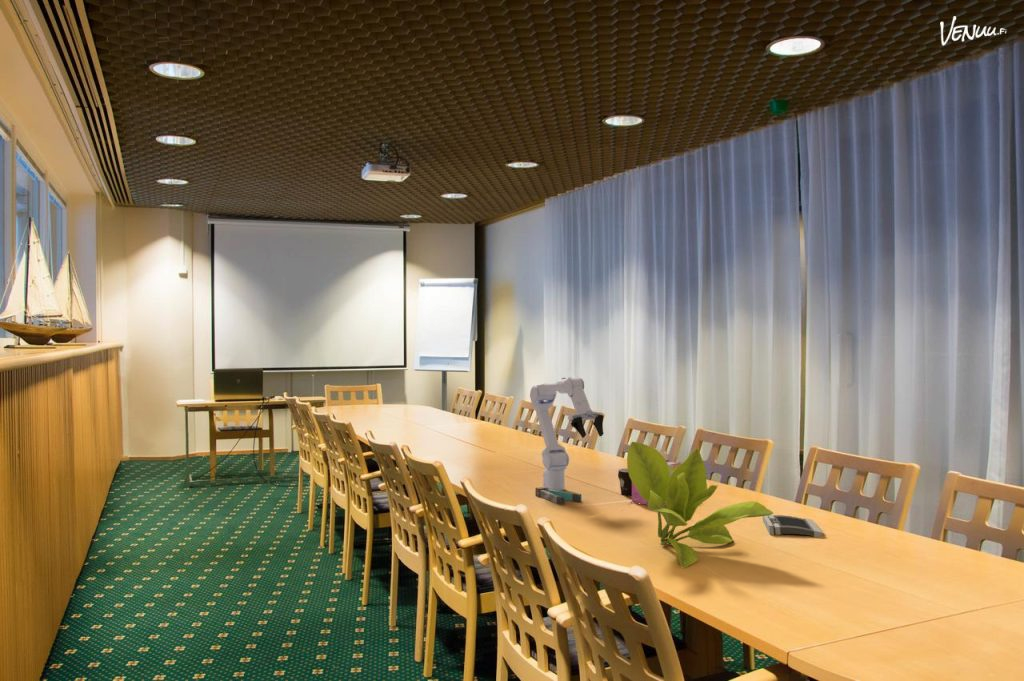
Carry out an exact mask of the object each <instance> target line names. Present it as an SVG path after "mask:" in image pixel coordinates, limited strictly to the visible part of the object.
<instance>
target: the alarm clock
mask: <svg viewBox="0 0 1024 681" xmlns="http://www.w3.org/2000/svg"><path fill="white" fill-rule="evenodd" d="M763 522H764V523H763ZM762 523H763V524H765V525H764V527H765V526H766V527H765V528H766V530H767V533H768V534H769V536H775V535H786V534H787V535H789V534H792V535H793V534H794V535H806V536H810V537H813V536H814V538H823V534H824V532H823V530H822V529H821V528H820V526H819V525H818V524H817V523H816V522H815V520H813V519H810V518H806V517H804V518H801V517H797V516H792V515H791V516H790V515H782V514H781V515H780V514H778V515H777V514H776V515H775V514H771V515H767V516H762Z"/></svg>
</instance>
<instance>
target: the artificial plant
mask: <svg viewBox="0 0 1024 681" xmlns="http://www.w3.org/2000/svg"><path fill="white" fill-rule="evenodd" d="M687 456H688V457H687V458H686V459H685V460H684V461H683V462H681V464H680V465H679V466H678V467H677V468H676V469H675V470H674V471H673V472H672V474H671V476H670V471H669V467H668V463H667V462H666V459H665V457H664V456H663V455H662V454H661V453H660V451H658V450H657V449H656V448H653V447H652V446H650V445H647V444H644V443H642V442H641V443H640V442H636V441H631V443H630V444H629V446H628V451H627V456H626V467H627V468H628V472H629V477H630V478H631V480H632V482H633V484H634V485H635V487H636V489H637V490H638V492H639V493H640V495H641V496H642V497H643V498H644V499H645V500H646V501H647V502H648V503H649V505H648V510H649V511H653V512H657V519H658V520H657V521H658V525H657V537H658V538H660V545H661V546H665V545H667V544H671V545H672V547H673V549H674V550H675V552H676V554H677V558H678V562H679V564H680V567H681V568H682V567H684V568H686V567H688V566H691V565H692V564H694V563H696V562H697V561H698V554H697V553H696V551H695V549H694V548H693V547H691V546H690V545H688V544H686V543H682V542H679V541H681V540H684V539H686V538H690V539H693V540H695V541H698V542H701V543H703V544H710V545H723V544H729V543H731V542H734V539H733V537H732V534H730V531H729V529H728V528H727V525H729V524H732V523H734V522H736V521H738V520H740V519H745V518H746V519H747V518H759V517H763V516H768V515H774V511H772V510H770V509H769V508H767V507H766V506H765V505H764V504H762V503H760V502H758V501H751V500H750V501H742V502H739V503H735V504H730V505H727V506H723V507H721V508H719V509H717V510H715V511H714V512H712V513H711V514H709V515H707V516H706V517H704V518H703V519H700V520H698V521H696V523H695V524H694V525H690V526H688V527H687V528H684V529H681V530H680V531H678V532H676V533H675V534H674V532H675V529H676V527H685V526H687V525H688V523H687V522H689V521H691V520H692V518H693V517H694V514H695V512H696V511H697V509H698V507H700V506H701V505H702V504H703V503H704V502H705V501H707V500H709V499H710V498H711V497H712V496H713V494H714V493H715V492H716V491H717V489H718V486H719V485H714V484H713V485H710V486H709V487H708V483H707V482H708V481H707V471H706V468H705V463H704V461H703V457H702V455H701V453H700V451H699V449H698V448H695V449H694V450H693V451H692V452H691V453H690V454H689V455H687ZM666 499H667V501H666ZM665 504H666V506H665ZM662 516H663V519H664V520H665V522H666V525H665V526H664V527H663V523H662ZM725 525H726V526H725ZM670 526H671V528H670ZM669 529H670V530H669ZM685 533H687V535H684V536H681V537H678V536H680V535H682V534H685ZM677 537H678V538H677Z"/></svg>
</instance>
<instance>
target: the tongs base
mask: <svg viewBox="0 0 1024 681" xmlns="http://www.w3.org/2000/svg"><path fill="white" fill-rule="evenodd" d="M534 489H535V496H536V497H540V498H542V499H544V500H548V501H550V502H552V503H555V504H557V505H560V506H564V505H565V500H564V497H561V496H558V495H555V494H553V493H550V492H549V488H548V487H543V486H538V487H535V488H534Z"/></svg>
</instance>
